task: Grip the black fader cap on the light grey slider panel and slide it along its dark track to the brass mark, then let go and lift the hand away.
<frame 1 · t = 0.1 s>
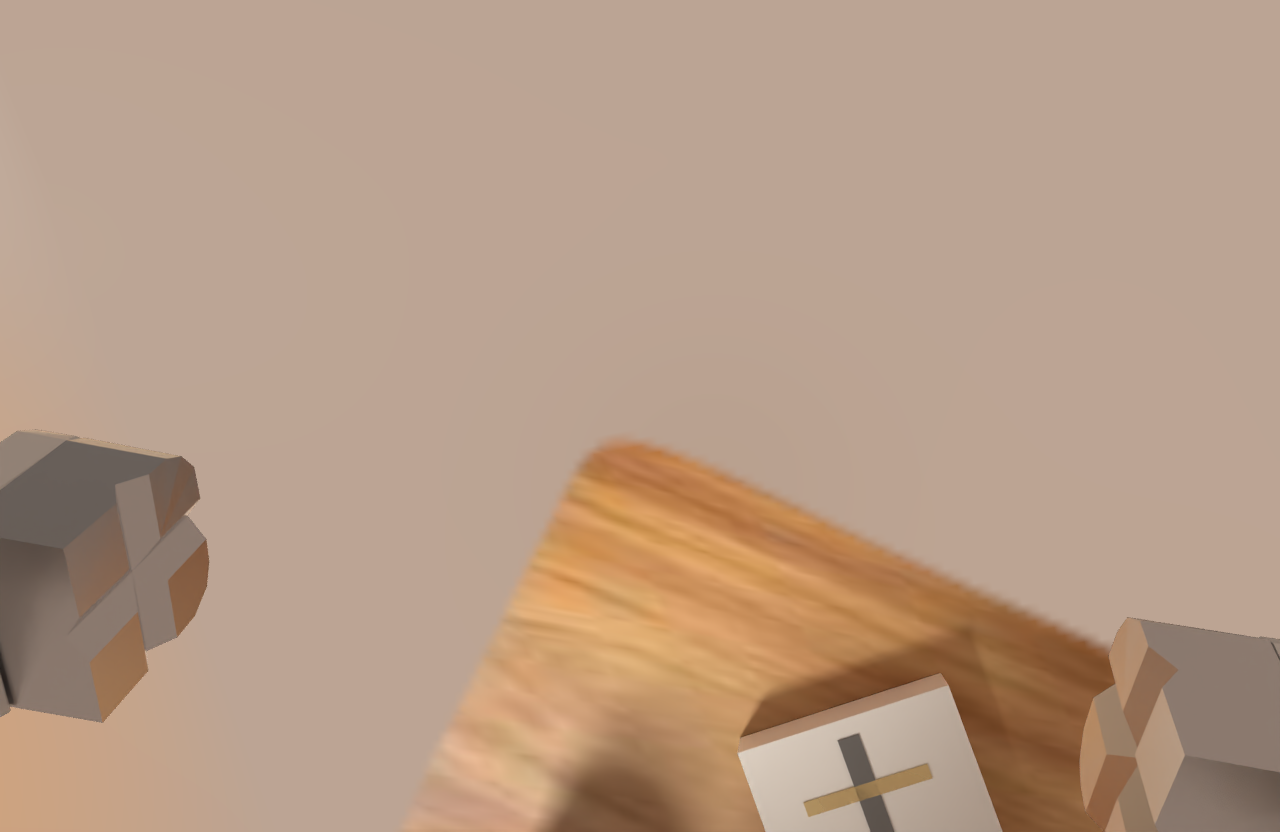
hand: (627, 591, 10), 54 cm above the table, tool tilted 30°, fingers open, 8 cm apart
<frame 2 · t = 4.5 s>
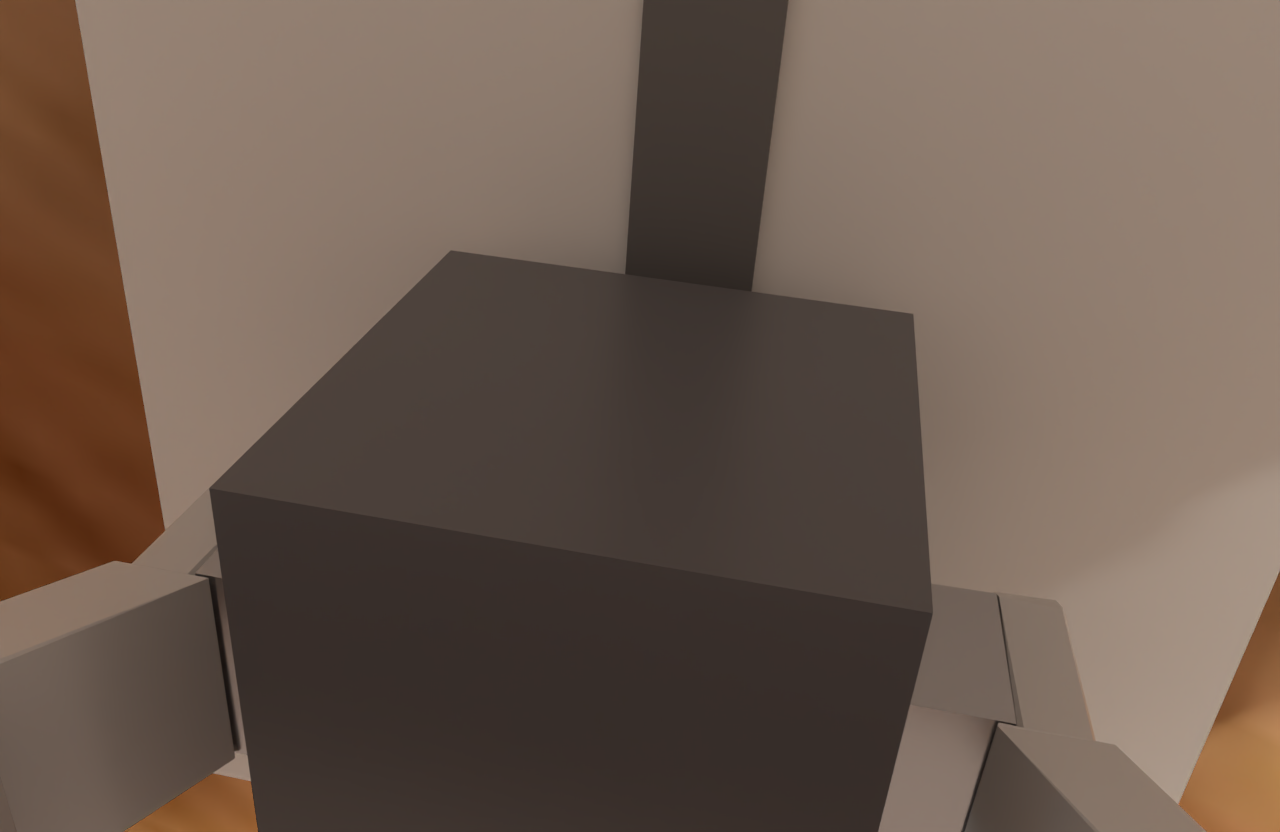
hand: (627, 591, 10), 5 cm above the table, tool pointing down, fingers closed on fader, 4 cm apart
fader: (616, 636, 9), point 6 cm above the table, slide at 0.0 cm, touching gripper
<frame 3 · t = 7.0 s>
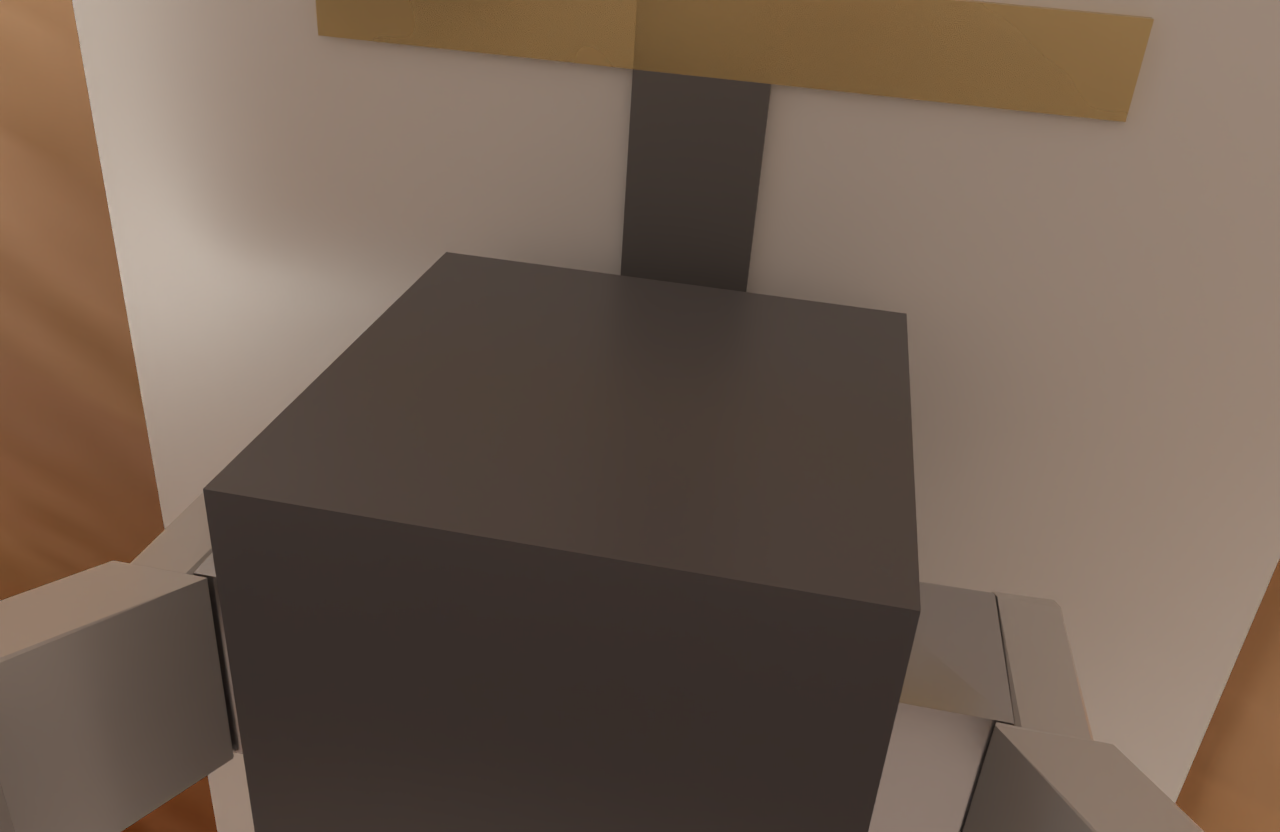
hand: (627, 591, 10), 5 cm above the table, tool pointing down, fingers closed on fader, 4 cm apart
fader: (611, 635, 9), point 6 cm above the table, slide at 7.6 cm, touching gripper
slider panel: (689, 517, 15), on the table
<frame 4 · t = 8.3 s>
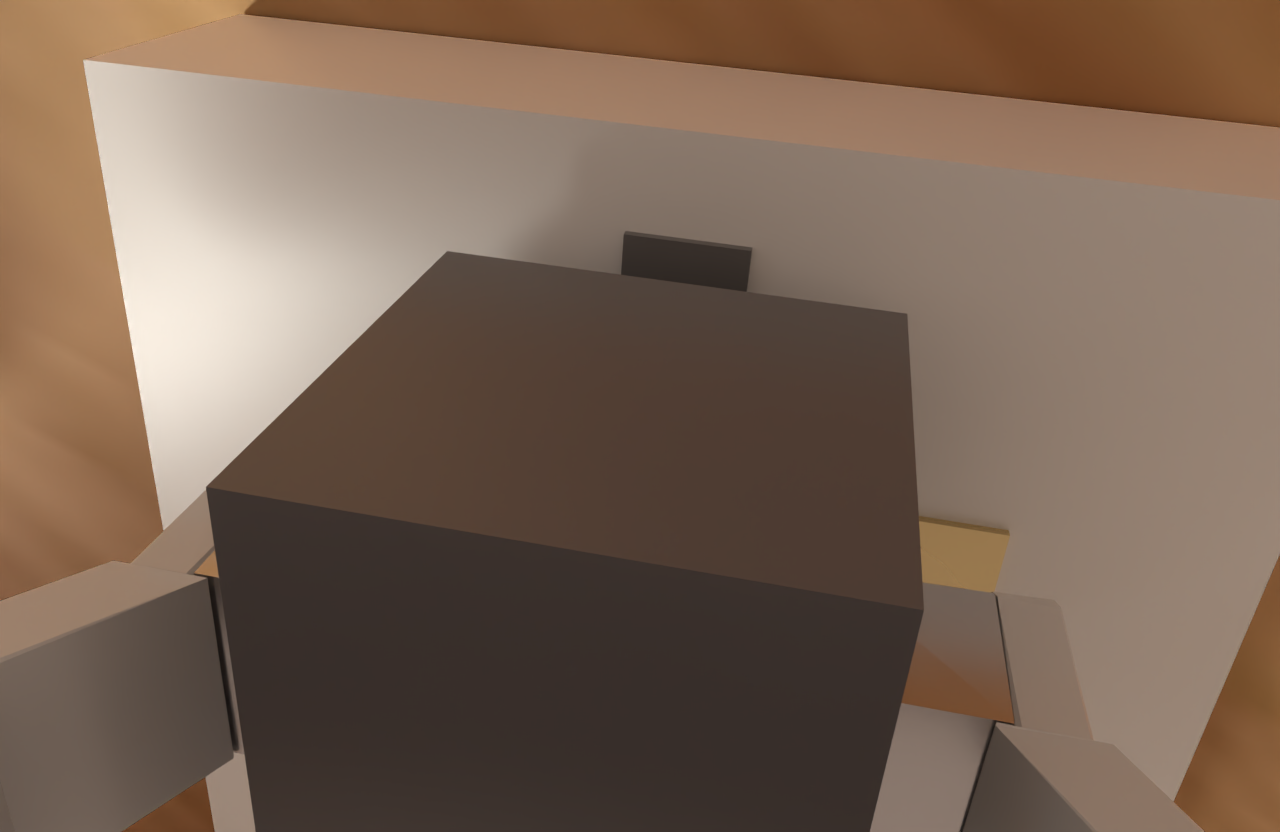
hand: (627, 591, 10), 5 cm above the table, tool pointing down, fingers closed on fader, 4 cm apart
fader: (612, 634, 9), point 6 cm above the table, slide at 12.5 cm, touching gripper
slider panel: (660, 770, 18), on the table
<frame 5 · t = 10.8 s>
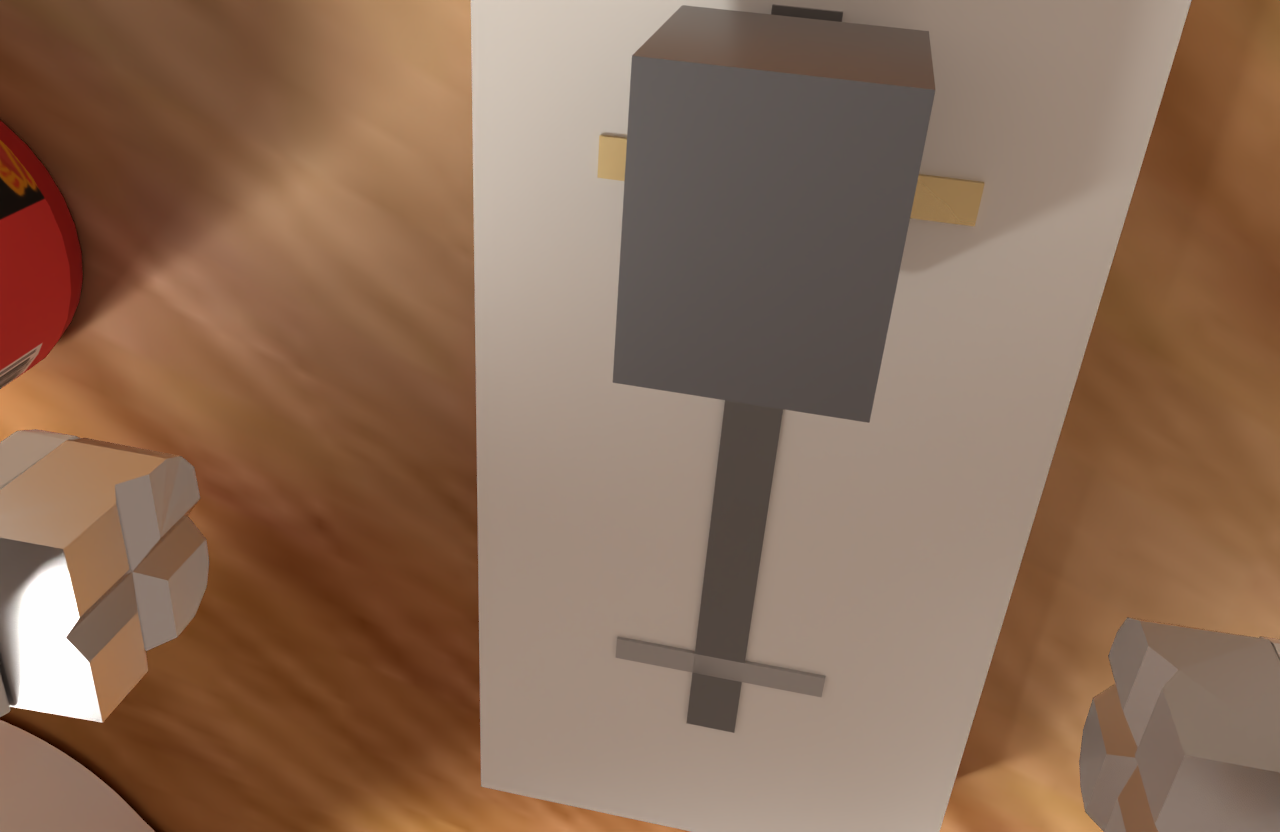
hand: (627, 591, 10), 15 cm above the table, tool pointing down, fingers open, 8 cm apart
fader: (773, 199, 18), point 6 cm above the table, slide at 12.5 cm
slider panel: (757, 424, 26), on the table
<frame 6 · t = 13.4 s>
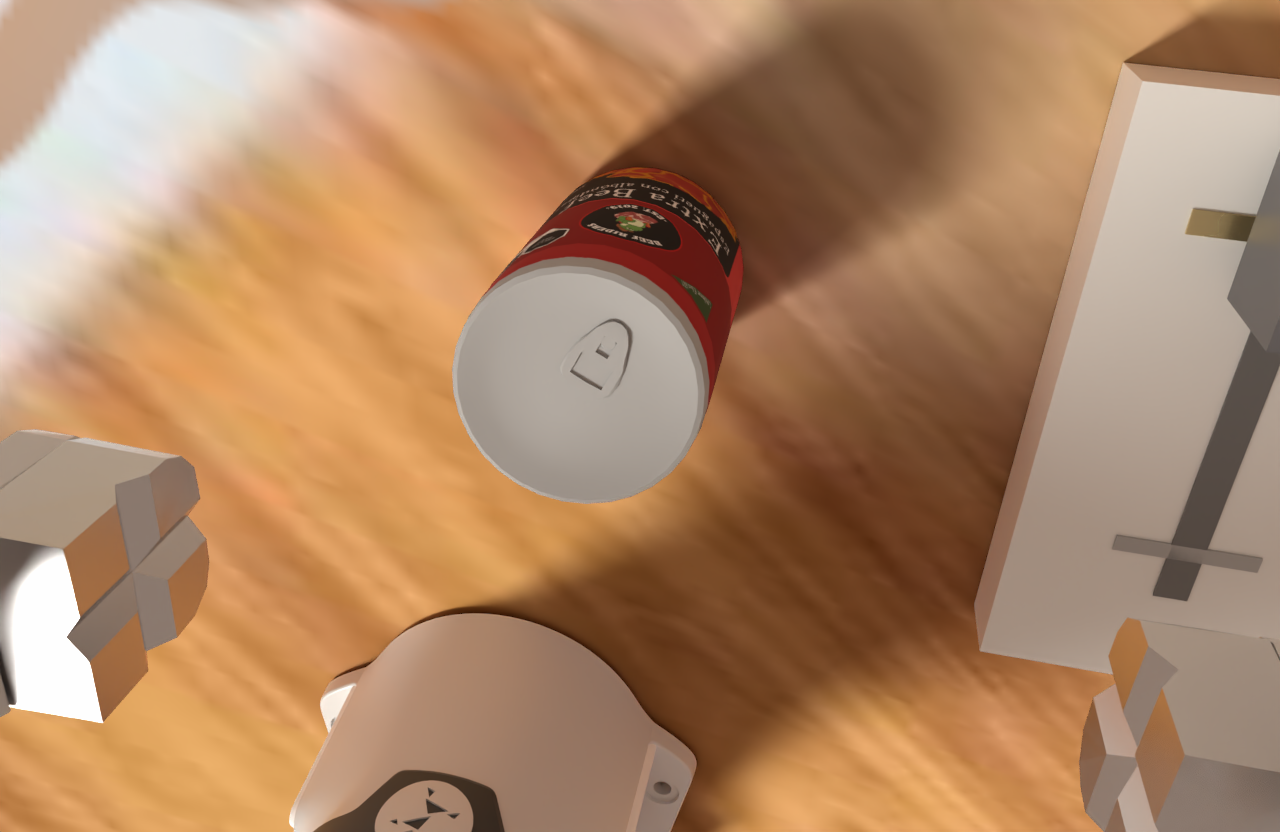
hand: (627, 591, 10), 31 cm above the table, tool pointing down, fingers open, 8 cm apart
slider panel: (1209, 393, 40), on the table
canned food: (645, 261, 42), on the table
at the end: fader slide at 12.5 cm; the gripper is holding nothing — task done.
